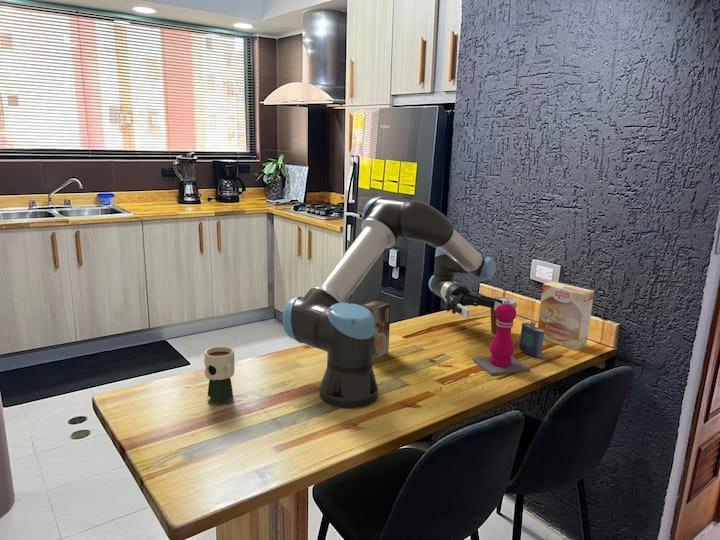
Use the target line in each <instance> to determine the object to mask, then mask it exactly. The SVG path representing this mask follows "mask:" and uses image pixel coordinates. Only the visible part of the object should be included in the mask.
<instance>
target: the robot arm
mask: <svg viewBox="0 0 720 540" xmlns="http://www.w3.org/2000/svg"><path fill="white" fill-rule="evenodd" d="M360 218H361V224H360V225H361V231H360V233H359V234H358V235H357V237H356V238H355V239H354V240H353V242H352V243H351V245H350V246H349V247H348V249H347V250H346V251H345V252H344V253H343V255H342V256H341V258H340V259H339V260H338V262H336V263H335V265H334V267H333V268H332V269H331V271H329V273H328V274H327V276H326V277H325V278H324V280H322V282H321V283H320V285H319V286H312V287H311V288H310V289H309V290H308V291H307V293H306V294H305V295H304V296H295V297H293V298H291V299H290V300H289V301H288V303H287V304H286V305H285V307H284V310H283V314H282V326H283V330H284V332H285V333H286V335H287V336H288V337H289V338H291V340H295V341H296V342H298V343H299V344H303V345H304V344H305V345H308V346H310V347H313V348H316V349H319V350H321V351H325V352H326V354H327V355H326V356H327V357H326V359H327V360H326V369H325V371H324V374H323V377H322V379H321V382H320V385H319V397H320V399H321V400H322V402H324V403H326V404H327V405H329V406H332V407H336V408H339V409H359V408H365V407H368V406H370V405H373V404H374V403H375V402H377V400H378V398H379V397H378V396H379V385H378V382H377V379H376V375H375V373H374V369H373V366H374V365H373V361H374V360H373V346H374V333H375V327H374V317H373V314H372V313H371V312H370V311H369V310H368V309H367V308H365V307H363V306H360V305H361V304H357V303H348V302H347V301H348V300H349V299H350V297H351V296H352V294H353V293H354V292H355V291H356V289H357V287H358V286H360V284H361V283H362V281H363V280H364V278H365V277H366V275H367V274H368V273H369V271H370V269H372V267H373V266H374V264H375V263H376V262H377V260H378V259H379V257H380V256H381V255H382V253H383V252H384V251H385V249H390V248H393V247H394V246H395V244H396V243H397V241H398V240H399V239H404V240H410V241H411V240H412V241H417V242H422V243H425V244H427V245H429V246H431V247H432V248H435V255H434V271H433V275H431V277H430V279H429V281H428V288H429V290H430V291H431V292H432V293H433V294H434V295H435V296H437V297H440V298H441V299H443V300H444V304H445V305H446V306H445V310H446V312H450V311H451V313H452V314H453V315H456V313H457V314H458V315H460V316H461V317H463V318H465V319H469V316H470V309H468V308H467V307H465V306H472V307H479V306H480V307H486V308H490V309H491V308H494V310H496V308H497V307H498V306H499V305H501V304H502V303H503V301H502V300H499V299H495V298H492V297H491V296H488V295H484V294H481V293H477V295H476V294H473V293H471V292H470V290H469V288H467V287H466V286H464V285H462V284H460V283H458V282H457V281H455V276H456V274H460V275H464V276H470V277H475V278H479V279H484V280H489V279H492V277H494V275H495V272H496V268H497V262H496V261H495V259H494V258H493V257H491V256H486V255H485V256H484V255H482V254H481V253H480V252H479V251H478V250H477V249H476V248H474V246H473V245H472V244H471V243H469V242H468V241H467V239H465V237H463V236H462V235H461V234H460V233H459V232H458V231H457V230H456V229H455V227H454V224H453V222H452V221H451V220H450V219H449V218H448V217H447V216H446V215H445V214H444V213H442V212H441V211H439V210H438V209H436V208H435V207H433V206H432V205H430V204H428V203H426V202H423V201H421V200H415V199H406V198H398V197H391V196H386V195H385V196H384V195H383V196H376V197H373V198H371V199H370V200H368V201H367V203H366V204H365V205H364V207H363V210H362V214H361V217H360Z"/></svg>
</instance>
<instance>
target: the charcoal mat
mask: <svg viewBox="0 0 720 540" xmlns="http://www.w3.org/2000/svg"><path fill="white" fill-rule="evenodd" d="M490 356H491V355H490ZM490 356H482V357H481V356H480V357H471V358H472V359H471V361H472V360H473V361H474V362H473V361H472V362H473V363H475V364H476V365H477V364H478V365H477V366H479V367H480V368H481V369H482V368H483V369H482V370H483V371H485V372H487V373H488V375H489V376H498V375H507V374H517V373H526V372H531V368H529V367H528V366H527V365H525V363H522V362H521V361H520V360H518V359H517V358H515V357H513V355H512V356H511V359H512V362H511V365H510V366H509V367H498V366H495V365H493V364H491V363H490Z"/></svg>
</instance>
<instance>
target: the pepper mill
mask: <svg viewBox="0 0 720 540" xmlns="http://www.w3.org/2000/svg"><path fill="white" fill-rule="evenodd" d="M509 304H510V301H509V300H508V299H506V300H504V304H501V305H499V306H498V307H497V308H496V311H495V315H496V317H497V318H498V319H497V320H496V321H497V322H496V325H497V333H496V334H494V335H495V336H494V338H493V339H492V340H491V342H490V345H489V352H490V354H491V355H490V363H491V364H493V365H495V366H498V367H509V366H510V365H511V362H512V359H511V356H512V357H513V356H514V354H515V344H514V341H513V338H512V328H513V327H514V323H515V322H514V320H515V319H516V317H517V310H516V309H517V308H516V309H515V308H514V307H513V306H512V305H509Z"/></svg>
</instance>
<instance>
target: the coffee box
mask: <svg viewBox="0 0 720 540" xmlns="http://www.w3.org/2000/svg"><path fill="white" fill-rule="evenodd" d="M391 304H392V303H388V302H385V301H379V300H375V299H374V300H371V301H368V302H366V303H363V304H359V305H360V306H363V307H365V308H367V309H368V310H369V311H370V312H371V313H372V314H373V317H374V327H375V333H374V346H373V361H374V360H376V359H377V358H379V357H382V356H384V355H386V354H388V353H389V347H390V346H389V345H390V344H389V343H390V329H391V327H390V325H391V322H390V321H391Z"/></svg>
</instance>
